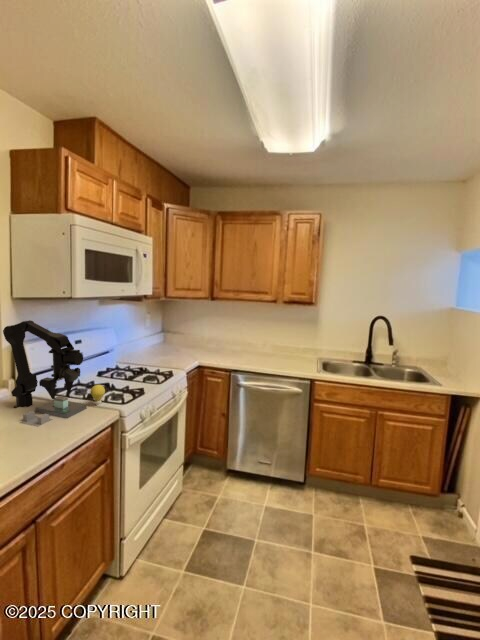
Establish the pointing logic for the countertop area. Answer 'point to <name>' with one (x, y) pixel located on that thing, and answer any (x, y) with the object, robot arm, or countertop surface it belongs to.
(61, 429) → the countertop surface
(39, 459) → the countertop surface
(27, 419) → the holster
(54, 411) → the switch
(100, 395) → the light bulb
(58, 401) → the plug
